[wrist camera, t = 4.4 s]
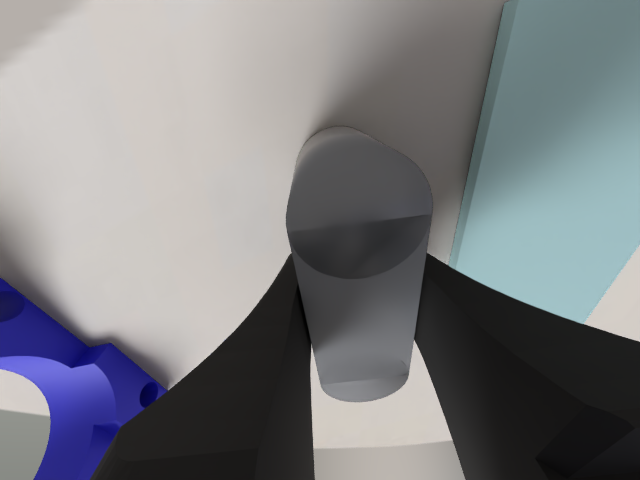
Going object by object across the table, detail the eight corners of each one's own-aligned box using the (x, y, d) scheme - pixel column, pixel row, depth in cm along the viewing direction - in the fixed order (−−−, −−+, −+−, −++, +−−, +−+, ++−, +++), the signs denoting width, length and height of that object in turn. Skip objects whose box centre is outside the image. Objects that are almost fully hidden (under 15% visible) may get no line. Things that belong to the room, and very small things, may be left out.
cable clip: (168, 388, 17) (110, 508, 12) (115, 398, 18) (38, 518, 13) (27, 266, 11) (-206, 401, 6) (-48, 286, 12) (-325, 429, 7)
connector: (381, 120, 8) (443, 133, 5) (377, 333, 15) (402, 415, 11) (287, 132, 9) (270, 157, 5) (323, 340, 15) (329, 423, 11)
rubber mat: (808, -41, 7) (848, -53, 6) (571, 320, 15) (580, 327, 15) (504, 2, 7) (519, -5, 7) (433, 335, 15) (438, 344, 15)
